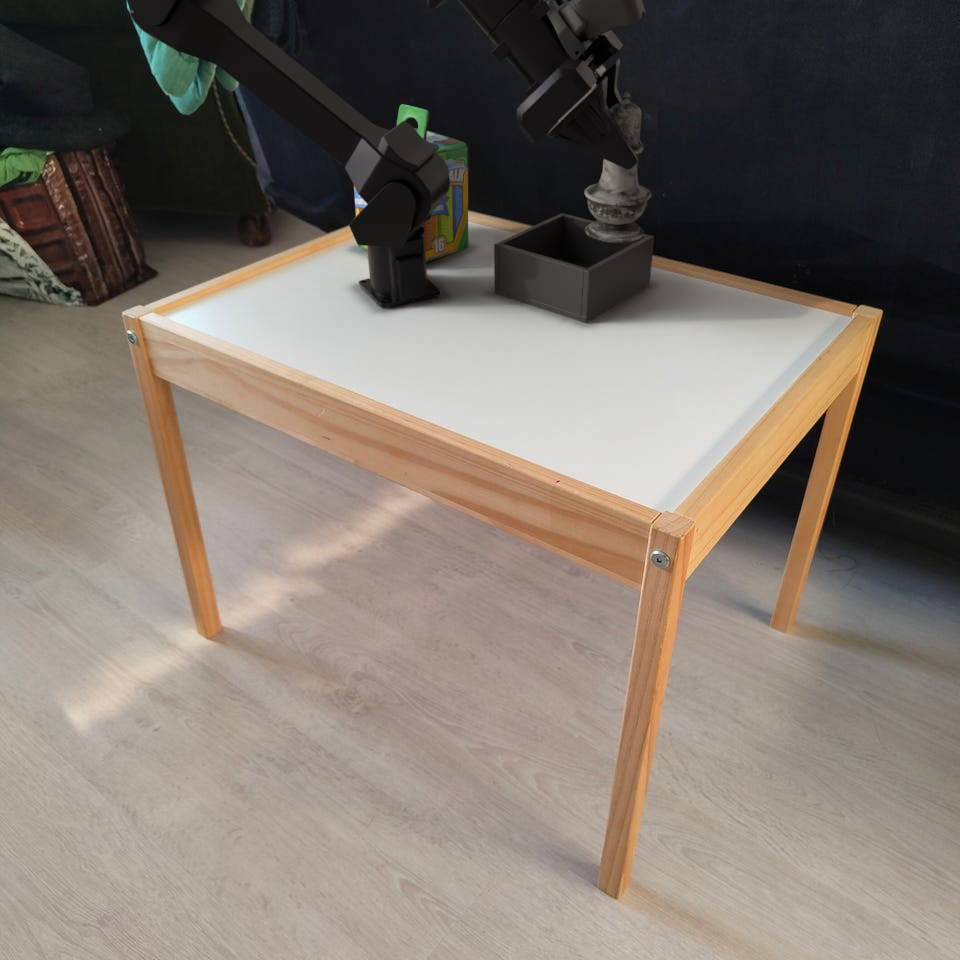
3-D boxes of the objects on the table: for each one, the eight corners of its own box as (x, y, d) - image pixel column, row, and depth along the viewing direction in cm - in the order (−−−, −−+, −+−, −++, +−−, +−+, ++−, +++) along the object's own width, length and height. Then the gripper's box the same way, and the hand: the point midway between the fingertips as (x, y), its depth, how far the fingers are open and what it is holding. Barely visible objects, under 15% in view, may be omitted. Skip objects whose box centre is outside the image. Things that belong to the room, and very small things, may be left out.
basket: (494, 293, 90) (493, 243, 87) (560, 259, 97) (561, 212, 94) (586, 323, 84) (589, 271, 81) (649, 285, 91) (654, 236, 88)
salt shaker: (660, 236, 80) (677, 94, 73) (607, 248, 78) (619, 102, 71) (620, 216, 84) (633, 80, 77) (569, 227, 82) (577, 88, 75)
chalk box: (356, 248, 100) (342, 109, 92) (419, 228, 105) (412, 94, 97) (408, 271, 95) (398, 125, 86) (472, 248, 100) (469, 108, 91)
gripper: (566, -58, 61) (707, 122, 65) (606, -79, 76) (719, 69, 80) (457, 61, 67) (592, 218, 71) (514, 20, 82) (623, 153, 86)
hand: (636, 159), depth 77 cm, fingers closed on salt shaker, 3 cm apart
